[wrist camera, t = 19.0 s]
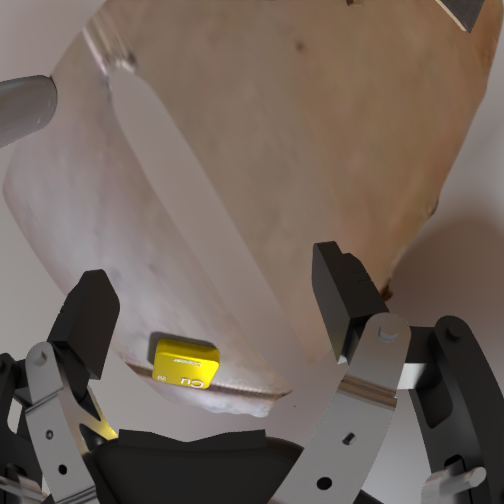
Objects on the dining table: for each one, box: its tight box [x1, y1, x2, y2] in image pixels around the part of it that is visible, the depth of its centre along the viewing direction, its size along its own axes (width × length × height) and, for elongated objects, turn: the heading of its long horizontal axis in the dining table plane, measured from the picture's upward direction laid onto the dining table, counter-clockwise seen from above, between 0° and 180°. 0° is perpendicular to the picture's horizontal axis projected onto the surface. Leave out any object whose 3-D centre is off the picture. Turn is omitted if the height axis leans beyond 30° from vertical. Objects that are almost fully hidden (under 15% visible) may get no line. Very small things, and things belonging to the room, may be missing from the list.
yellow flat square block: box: [152, 339, 220, 388], centre depth 62 cm, size 15×15×5 cm
